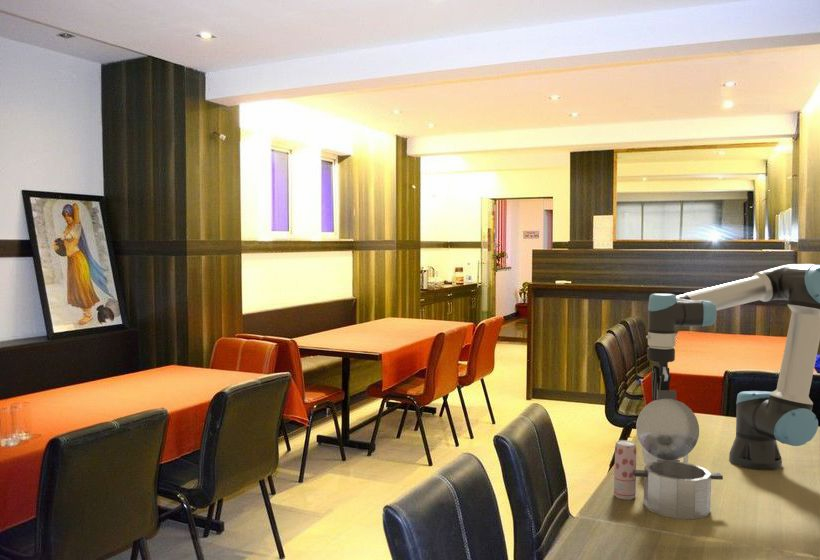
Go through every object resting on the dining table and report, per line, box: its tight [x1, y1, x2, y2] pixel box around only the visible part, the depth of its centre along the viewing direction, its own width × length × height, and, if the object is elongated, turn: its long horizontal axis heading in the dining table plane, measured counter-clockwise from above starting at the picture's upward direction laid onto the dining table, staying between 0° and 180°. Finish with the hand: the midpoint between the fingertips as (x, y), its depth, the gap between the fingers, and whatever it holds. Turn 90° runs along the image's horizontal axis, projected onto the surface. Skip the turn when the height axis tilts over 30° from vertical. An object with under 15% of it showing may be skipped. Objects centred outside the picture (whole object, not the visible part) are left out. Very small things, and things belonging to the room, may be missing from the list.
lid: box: [635, 389, 700, 462], centre depth 195 cm, size 17×20×3 cm
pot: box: [633, 461, 724, 520], centre depth 185 cm, size 22×16×10 cm
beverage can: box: [613, 439, 637, 501], centre depth 193 cm, size 6×6×15 cm
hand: (659, 427), depth 203 cm, fingers closed
